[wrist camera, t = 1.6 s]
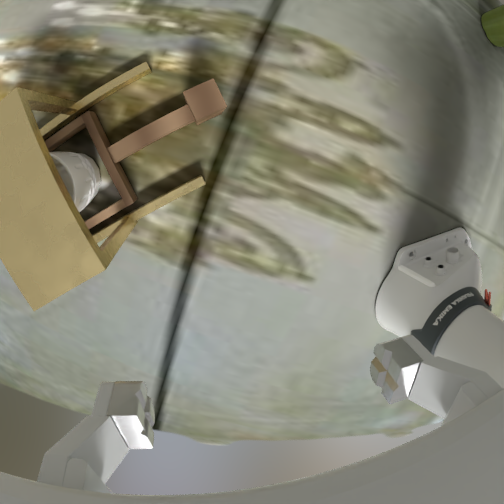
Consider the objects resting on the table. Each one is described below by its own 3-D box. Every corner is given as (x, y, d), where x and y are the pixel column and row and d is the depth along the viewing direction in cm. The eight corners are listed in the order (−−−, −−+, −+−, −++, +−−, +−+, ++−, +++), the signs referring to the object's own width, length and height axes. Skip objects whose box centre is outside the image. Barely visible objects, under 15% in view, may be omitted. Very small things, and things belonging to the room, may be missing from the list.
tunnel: (147, 62, 29) (117, 18, 16) (207, 185, 36) (212, 213, 22) (-17, 181, 29) (-86, 205, 16) (36, 283, 36) (-13, 341, 22)
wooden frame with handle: (194, 59, 30) (193, 38, 23) (237, 148, 35) (247, 150, 27) (23, 165, 30) (-12, 173, 23) (63, 243, 35) (37, 267, 27)
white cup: (46, 155, 31) (4, 163, 22) (101, 141, 32) (68, 143, 23) (56, 215, 34) (19, 240, 24) (110, 205, 35) (82, 228, 25)
